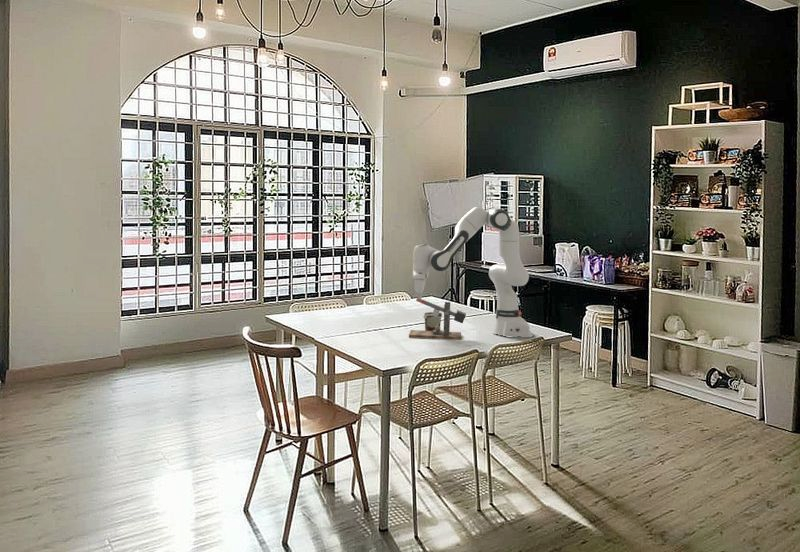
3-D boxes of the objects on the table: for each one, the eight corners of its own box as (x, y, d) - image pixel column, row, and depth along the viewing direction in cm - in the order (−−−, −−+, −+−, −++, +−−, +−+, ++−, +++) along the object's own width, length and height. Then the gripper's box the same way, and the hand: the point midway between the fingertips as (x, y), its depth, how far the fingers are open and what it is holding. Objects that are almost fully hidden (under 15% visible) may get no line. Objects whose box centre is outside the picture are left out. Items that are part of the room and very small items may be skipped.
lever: (460, 325, 381) (465, 313, 380) (460, 327, 377) (465, 315, 375) (413, 306, 383) (418, 294, 381) (412, 308, 378) (417, 295, 377)
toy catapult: (461, 334, 386) (462, 302, 383) (460, 339, 374) (462, 306, 371) (410, 332, 388) (411, 300, 386) (409, 337, 377) (409, 303, 374)
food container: (434, 328, 402) (434, 311, 400) (441, 330, 397) (442, 312, 396) (418, 330, 394) (418, 313, 392) (425, 332, 389) (426, 315, 388)
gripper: (416, 271, 388) (415, 295, 390) (413, 276, 368) (412, 301, 370) (427, 271, 387) (426, 296, 389) (425, 276, 367) (424, 302, 369)
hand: (419, 298), depth 379 cm, fingers closed, pressing on lever
